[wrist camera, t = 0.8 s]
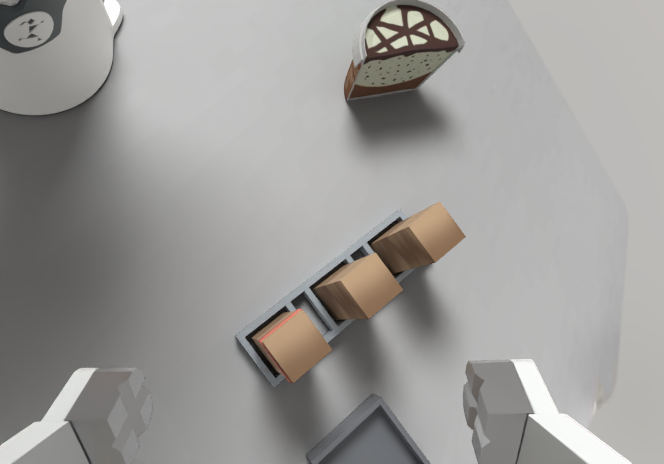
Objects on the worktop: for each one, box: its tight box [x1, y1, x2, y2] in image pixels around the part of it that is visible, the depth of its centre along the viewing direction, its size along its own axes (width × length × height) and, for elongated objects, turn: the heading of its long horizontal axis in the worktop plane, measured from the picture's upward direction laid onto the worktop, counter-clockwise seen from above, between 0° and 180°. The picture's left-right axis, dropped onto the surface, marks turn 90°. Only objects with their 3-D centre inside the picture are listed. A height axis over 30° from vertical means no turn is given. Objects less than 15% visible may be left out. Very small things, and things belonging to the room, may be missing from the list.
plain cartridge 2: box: [369, 202, 466, 274], centre depth 47 cm, size 4×4×11 cm
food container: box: [344, 0, 465, 101], centre depth 51 cm, size 12×6×10 cm, turn 106°
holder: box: [235, 209, 417, 387], centre depth 49 cm, size 6×22×2 cm, turn 128°
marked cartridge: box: [251, 309, 332, 383], centre depth 42 cm, size 4×4×11 cm
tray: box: [306, 394, 430, 464], centre depth 46 cm, size 9×9×2 cm
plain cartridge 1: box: [313, 252, 403, 320], centre depth 45 cm, size 4×4×11 cm
